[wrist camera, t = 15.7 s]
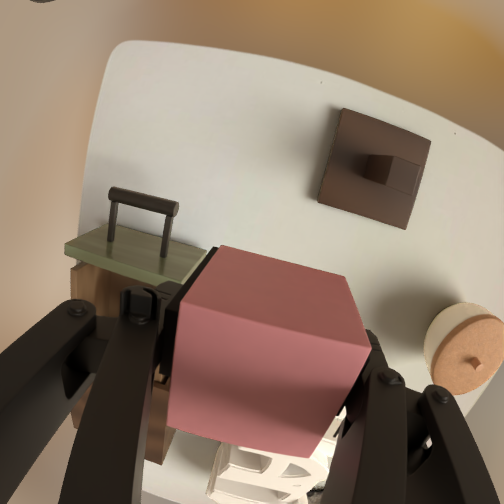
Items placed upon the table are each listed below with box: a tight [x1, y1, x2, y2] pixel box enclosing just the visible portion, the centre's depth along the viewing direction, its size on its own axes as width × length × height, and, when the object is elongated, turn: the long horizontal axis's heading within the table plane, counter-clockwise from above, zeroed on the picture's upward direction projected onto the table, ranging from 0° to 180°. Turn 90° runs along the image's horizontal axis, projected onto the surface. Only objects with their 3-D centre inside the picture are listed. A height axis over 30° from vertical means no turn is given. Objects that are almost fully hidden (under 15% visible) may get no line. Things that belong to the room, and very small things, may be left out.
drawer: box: [64, 187, 207, 385], centre depth 32 cm, size 20×12×9 cm, turn 166°
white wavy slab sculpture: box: [206, 406, 346, 504], centre depth 38 cm, size 35×16×10 cm, turn 159°
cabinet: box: [71, 377, 176, 465], centre depth 37 cm, size 16×14×11 cm
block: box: [166, 245, 372, 458], centre depth 11 cm, size 5×5×5 cm
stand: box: [317, 108, 431, 230], centre depth 26 cm, size 10×10×9 cm
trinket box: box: [424, 302, 504, 395], centre depth 30 cm, size 11×11×9 cm
